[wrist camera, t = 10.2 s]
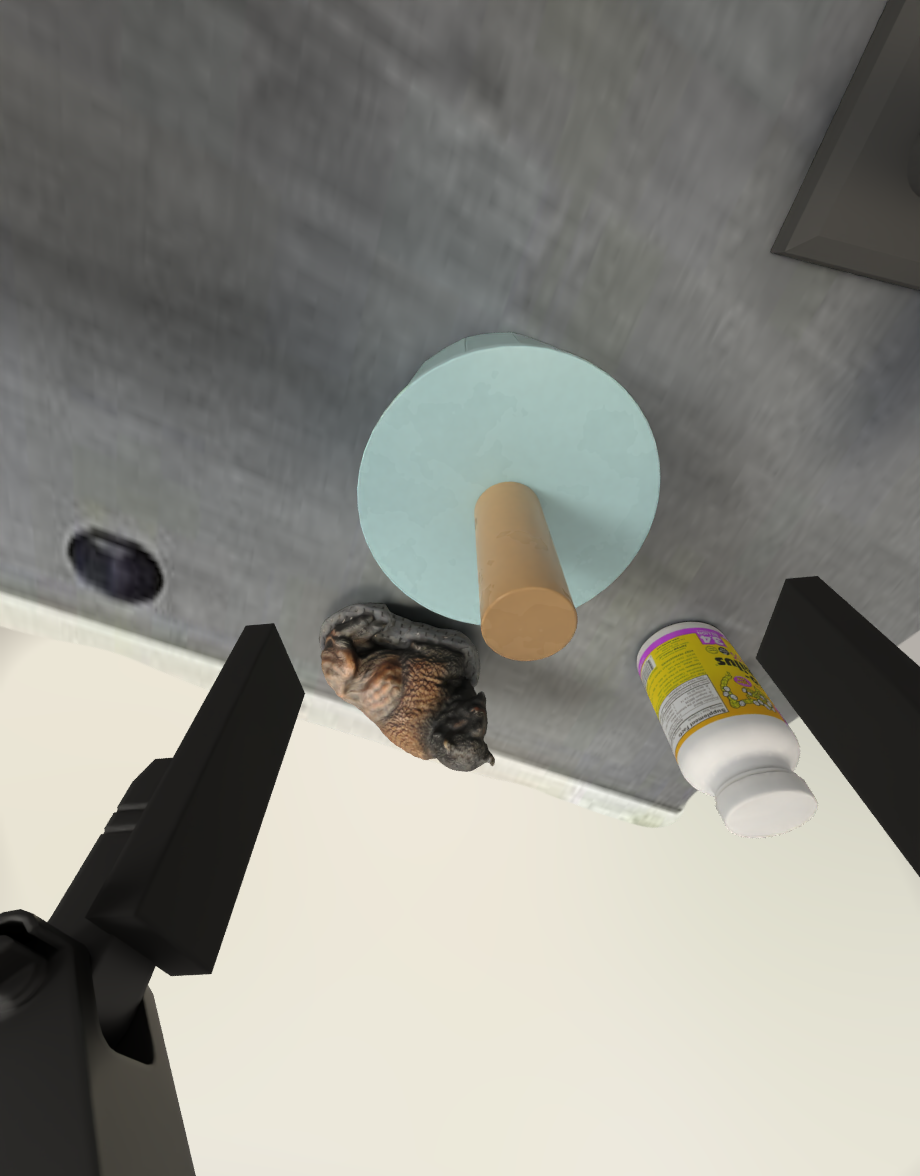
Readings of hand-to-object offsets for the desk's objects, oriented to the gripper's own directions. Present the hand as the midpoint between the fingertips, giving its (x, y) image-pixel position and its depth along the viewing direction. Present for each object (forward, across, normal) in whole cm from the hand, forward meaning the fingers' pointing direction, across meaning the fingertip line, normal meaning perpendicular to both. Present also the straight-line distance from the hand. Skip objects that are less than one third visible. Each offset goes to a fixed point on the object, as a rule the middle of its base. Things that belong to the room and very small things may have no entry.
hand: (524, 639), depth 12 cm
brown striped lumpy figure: (+17, -7, -14) cm, 22 cm away
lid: (+9, 0, 0) cm, 9 cm away
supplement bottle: (+16, +13, -18) cm, 27 cm away
